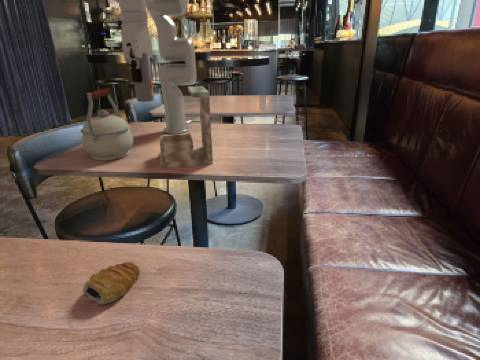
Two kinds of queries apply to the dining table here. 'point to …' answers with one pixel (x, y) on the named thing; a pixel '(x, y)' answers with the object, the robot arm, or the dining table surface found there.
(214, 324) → the dining table surface
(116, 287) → the pastry
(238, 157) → the dining table surface
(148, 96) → the lotion bottle
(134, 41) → the robot arm
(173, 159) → the bottle holder
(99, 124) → the kettle
